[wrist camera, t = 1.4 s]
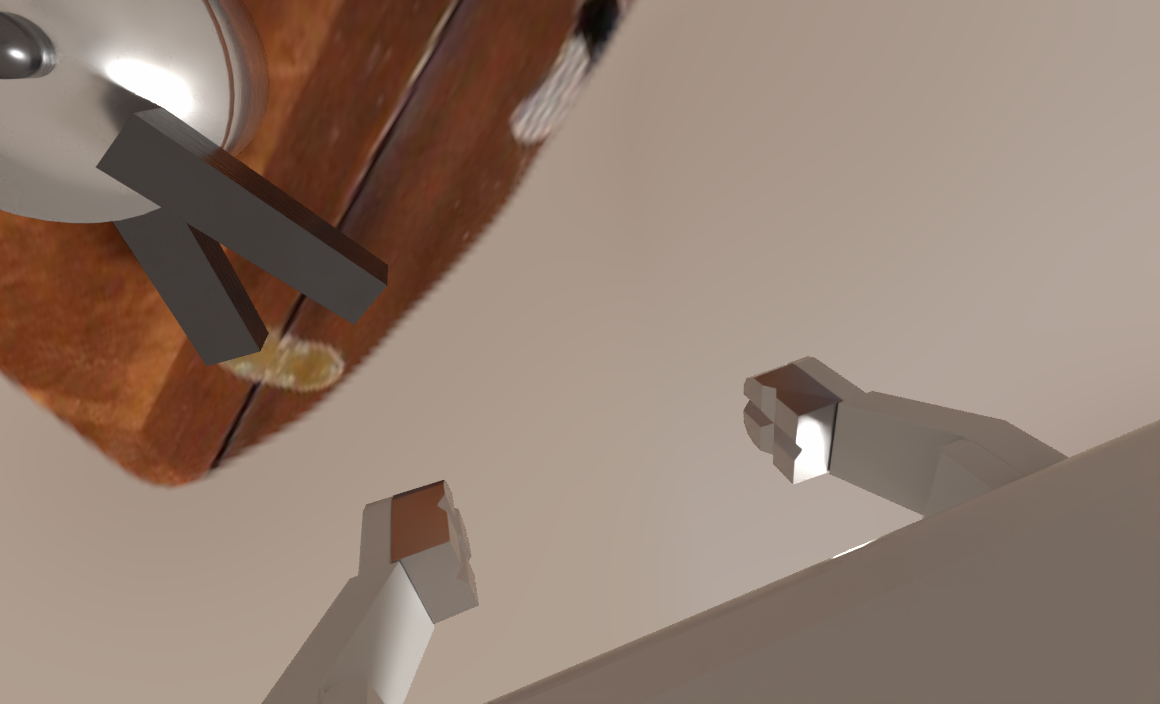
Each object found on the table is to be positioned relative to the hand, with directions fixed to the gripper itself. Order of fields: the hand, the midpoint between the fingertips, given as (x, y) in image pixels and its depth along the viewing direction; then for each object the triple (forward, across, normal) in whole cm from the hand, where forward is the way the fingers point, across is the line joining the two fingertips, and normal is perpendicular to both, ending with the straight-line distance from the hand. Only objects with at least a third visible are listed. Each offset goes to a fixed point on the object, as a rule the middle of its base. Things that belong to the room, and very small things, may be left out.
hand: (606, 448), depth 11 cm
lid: (+19, +12, -7) cm, 23 cm away
